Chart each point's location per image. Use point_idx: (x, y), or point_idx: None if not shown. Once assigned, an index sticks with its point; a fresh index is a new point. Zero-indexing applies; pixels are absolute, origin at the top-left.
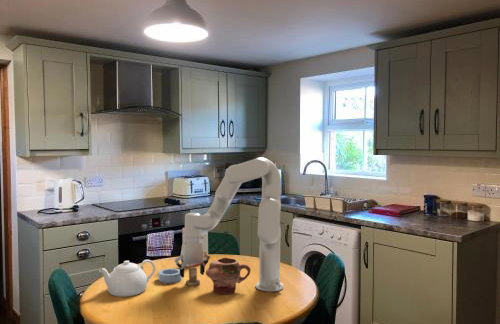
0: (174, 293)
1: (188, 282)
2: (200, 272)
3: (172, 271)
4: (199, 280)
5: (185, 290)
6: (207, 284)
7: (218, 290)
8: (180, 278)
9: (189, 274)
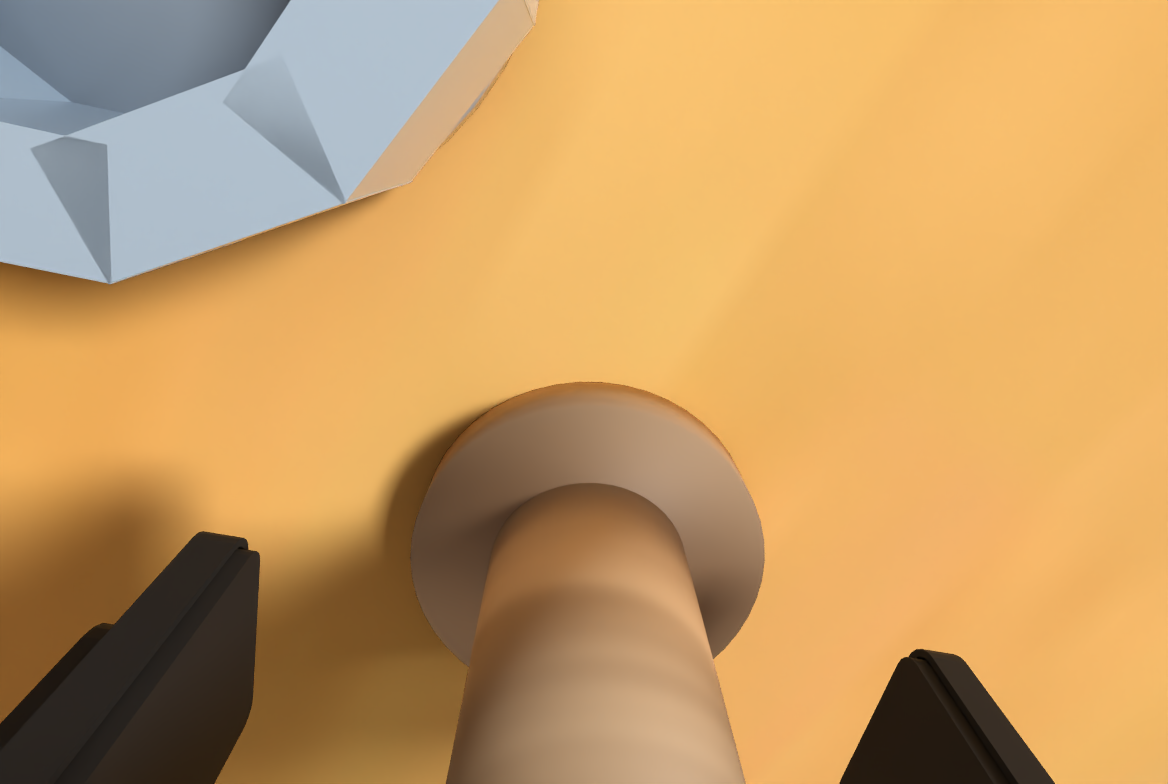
0: None
1: (456, 571)
2: (906, 701)
3: None
4: (752, 604)
5: (265, 746)
6: (800, 720)
7: None
8: (402, 183)
9: (457, 729)
